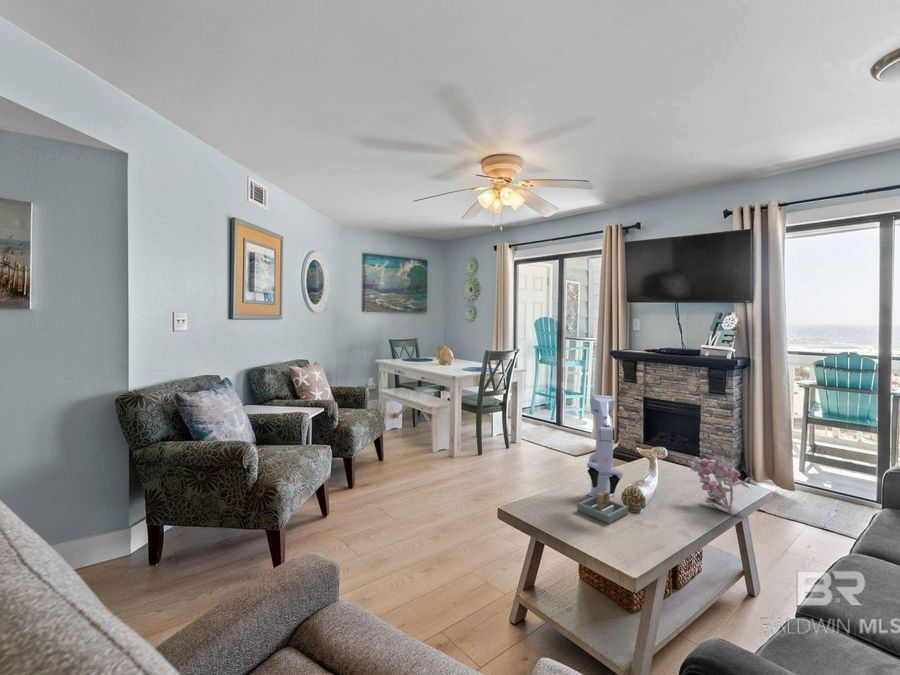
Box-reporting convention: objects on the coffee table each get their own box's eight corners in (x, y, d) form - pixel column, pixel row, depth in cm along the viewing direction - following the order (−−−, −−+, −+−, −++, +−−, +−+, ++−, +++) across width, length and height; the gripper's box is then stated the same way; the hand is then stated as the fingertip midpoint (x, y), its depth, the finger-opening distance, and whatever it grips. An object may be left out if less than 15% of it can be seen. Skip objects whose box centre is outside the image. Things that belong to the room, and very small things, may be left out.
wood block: (604, 508, 179) (605, 490, 179) (609, 510, 178) (609, 492, 177) (596, 512, 175) (597, 494, 175) (600, 514, 174) (601, 495, 173)
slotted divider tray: (596, 502, 186) (596, 494, 186) (627, 514, 176) (628, 506, 175) (577, 511, 177) (577, 503, 177) (609, 524, 167) (609, 516, 166)
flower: (769, 509, 179) (746, 449, 188) (743, 516, 167) (720, 451, 176) (721, 513, 194) (702, 456, 203) (694, 520, 182) (675, 459, 191)
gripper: (583, 453, 178) (581, 486, 179) (616, 464, 167) (614, 498, 168) (593, 450, 183) (591, 482, 184) (626, 460, 172) (624, 494, 172)
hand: (603, 490), depth 176 cm, fingers open, 7 cm apart
